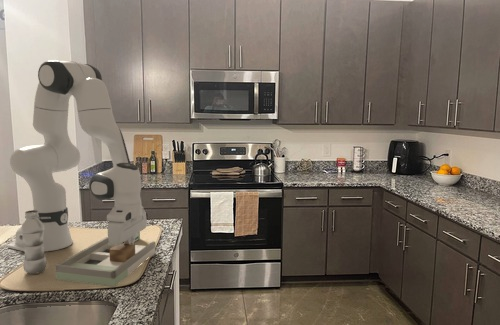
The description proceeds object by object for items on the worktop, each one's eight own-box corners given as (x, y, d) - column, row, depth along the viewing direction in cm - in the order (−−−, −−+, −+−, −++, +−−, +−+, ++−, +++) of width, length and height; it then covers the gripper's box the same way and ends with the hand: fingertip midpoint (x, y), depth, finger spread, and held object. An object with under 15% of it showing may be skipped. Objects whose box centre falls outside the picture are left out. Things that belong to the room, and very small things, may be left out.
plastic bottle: (31, 278, 116) (26, 215, 113) (19, 273, 119) (15, 212, 117) (51, 270, 121) (47, 211, 118) (39, 266, 125) (36, 207, 122)
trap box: (56, 279, 115) (55, 265, 115) (106, 248, 142) (106, 236, 141) (114, 286, 111) (114, 272, 111) (155, 253, 138) (155, 241, 137)
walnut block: (109, 260, 124) (109, 249, 123) (119, 254, 130) (118, 243, 129) (126, 262, 123) (126, 250, 122) (135, 255, 128) (135, 244, 128)
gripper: (134, 202, 139) (135, 238, 141) (103, 217, 119) (105, 258, 121) (150, 203, 138) (151, 239, 140) (121, 218, 118) (122, 260, 120)
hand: (129, 248), depth 130 cm, fingers closed
